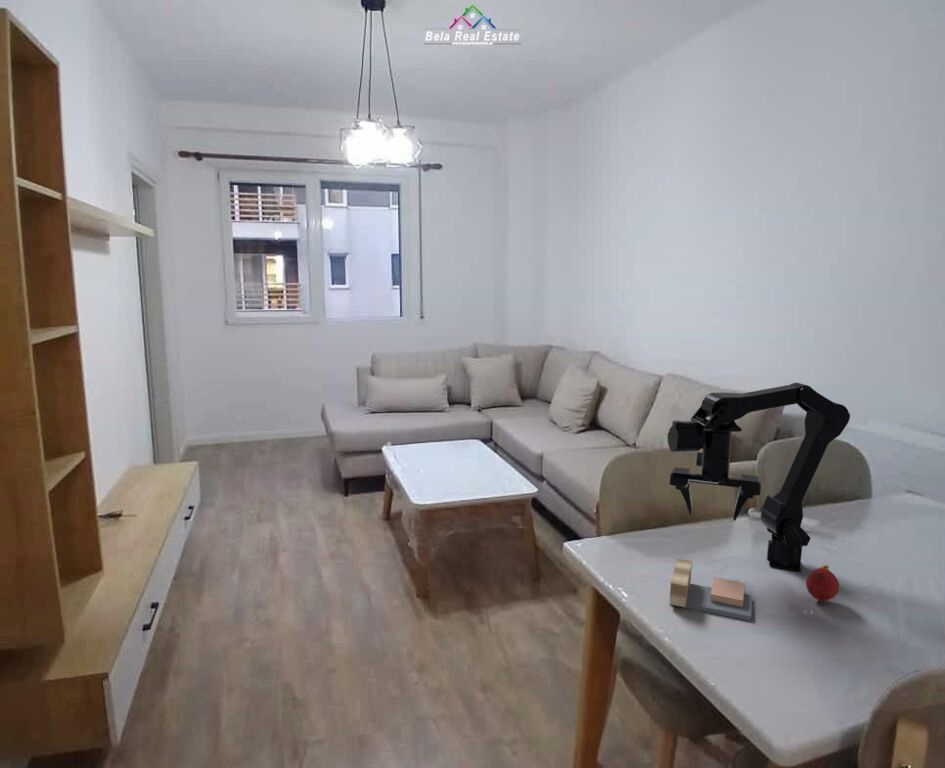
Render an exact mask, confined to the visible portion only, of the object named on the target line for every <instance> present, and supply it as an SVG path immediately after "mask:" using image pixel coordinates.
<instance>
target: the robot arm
mask: <svg viewBox="0 0 945 768" xmlns="http://www.w3.org/2000/svg"><path fill="white" fill-rule="evenodd" d="M791 405H792V406H793V405H798V407H799V408H800V409H802V410H803V411H804V412H806V415H805V417H804V431H805V434H804V438H803V439H802V442H801V443H800V446H799V449H798V451H797V453H796V455H795V457H794V459H793V462H792V463H791V467H790V468H789V470H788V474H787V475H786V478H785V480H784V482H783V485H782V487H781V488H780V491H779V492H778V493H776V494H775V495H774V496H773V497H772V496H770V495H769V494H768V495H766V497H765V499H764V503H763V505H762V507H761V508H760V509H759V512H761V513H760V519H761V522H762V523H763V525H764V526H765V527H766V530H767V532H768V533H770V534H771V537H770V538H771V539H768V541H767V551H766V552H767V553H766V560H767V561H768V565H769V567H771V568H777V569H783V570H788V571H793V572H794V571H795V572H802V566H801V562H802V554H803V553H802V552H803V547H807V546H808V545H809V542H810V540H811V536H810V535H809V534H808V533H807V532H806V531H805V530H804V529H803V528H802V527H801V526H802V522H803V520H804V519H803V518H804V510H803V507H804V506H803V502H804V499H805V497H806V495H807V492H808V490H809V488H810V485H811V483H812V481H813V479H814V477H815V474H816V473H817V470H818V467H819V465H820V463H821V462H822V459H823V457H824V455H825V452H826V451H827V447H828V446H829V444H830V443H831V442H833V441H834V440H835V439H837V438H838V437H839V436H840V435H842V433H843V431H844V430H845V429H846V427H847V426H848V424H849V422H850V419H851V414H850V412H849V409H848V408H847V407H846V406H845V405H843V404H841V403H837V402H836V401H835V402H834V401H832V400H830V399H828V398H827V397H825V396H824V395H822V394H821V393H819V392H818V391H816V390H815V389H814V388H812V386H810V385H807V384H805V383H804V384H803V383H800V382H793V383H790V384H786V385H781V386H776V387H771V388H765V389H759V390H755V391H754V390H753V391H748V392H744V393H743V392H741V393H736V392H711V393H708V394H706V395H705V397H704V398H703V399H702V402H701V405H700V406H699V408H698V409H697V410H696V411H695V412H694V414H692V417H691V418H690V420H685V421H684V420H673V421H672V425H671V426H670V427H669V430H668V433H667V445H668V449H669V450H670V451H671V452H672V453H674V452H675V453H678V452H679V453H680V452H681V453H682V452H683V453H684V452H687V453H688V452H697V453H696V460H695V461H696V462H695V463H696V465H695V466H696V467H701V473H700V474H699V473H691V469H690V468H685V467H684V468H683V467H673V468H672V469H671V471H670V475H669V485H670V486H672V487H675V490H678V491H680V494H681V495H682V497H683V499H684V501H685V505H686V508H687V510H688V513H689V516H692V515H693V499H692V483H694V484H695V483H697V484H705V485H712V486H713V485H714V486H722V487H730V488H738V489H737V490H738V491H737V496H736V500H735V504H734V505H735V506H734V509H733V510H734V511H733V519H732V520H733V521H734V522H735V521H736V520H737V518H738V516H739V514H740V513H741V510H742V508H743V506H744V505H745V504H746V502H747V501H748V500H749V499H754V496H761V491H762V490H761V488H762V486H761V485H762V484H761V483H762V481H761V478H760V477H759V476H757V475H751V474H741V475H740V476H741V477H740V478H737V477H736V478H734V477H729V476H730V466H731V465H730V464H731V462H730V461H731V446H732V433H733V432H735V433H736V432H740V433H741V432H742V431H743V429H742V428H741V427H740V426H739V425H738V424H737V423H736V421H737V420H740V419H742V418H743V417H745V416H747V414H750V413H753V412H759V411H765V410H769V409H776V408H780V407H785V406H786V407H787V406H791ZM708 418H709V419H708ZM700 450H702V452H699V451H700Z"/></svg>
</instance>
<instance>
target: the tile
mask: <svg viewBox="0 0 945 768" xmlns="http://www.w3.org/2000/svg"><path fill="white" fill-rule="evenodd" d="M711 588H712V589H711V597H710V600H711V601H713V602H718V603H723V604H727V605H732V606H737V607H743V594H745V593H744V592H745V582H742V581H737V580H732V579H731V580H730V579H726V578H719V577H715V576H713V578H712V585H711Z"/></svg>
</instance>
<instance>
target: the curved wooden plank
mask: <svg viewBox="0 0 945 768" xmlns="http://www.w3.org/2000/svg"><path fill="white" fill-rule="evenodd" d="M692 567H693V561H692V560H688V559H687V560H686V559H683V558H682V559H681V558H677V559H676V563H675V567H674V570H673V574H672V577H671V581H670V591H669V605H670V604H672V605H671V606H674V605H677V606H676V607H679V606H682V607H681V608H684V607H685V606H686V601H687V597H688V592H689V587H690V584H691V581H692V571H693V569H692Z"/></svg>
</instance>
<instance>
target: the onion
mask: <svg viewBox="0 0 945 768" xmlns="http://www.w3.org/2000/svg"><path fill="white" fill-rule="evenodd" d="M805 586H806V589H807V591H808V593H809V594H810V595H811V596H812V597H813V599H816V600H817V601H818V602H819V603H824V602H827V601H829V600H832V599H834V598H836V596H837V595H838V593H839V589H840V582H839V580H838V578H837V577H836V575H835V574H834V573H833V572H832V571H830V570H829V566H828V565H827V564H822V565H821V566H820V567H819V568H816V569H814V570H812V571H810V573H809V574H808V575H807V576H806V580H805Z"/></svg>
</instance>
